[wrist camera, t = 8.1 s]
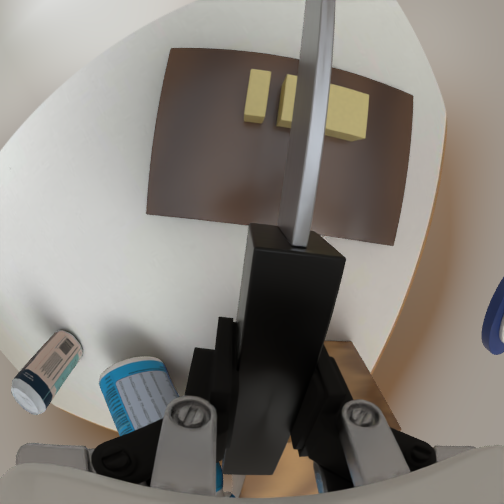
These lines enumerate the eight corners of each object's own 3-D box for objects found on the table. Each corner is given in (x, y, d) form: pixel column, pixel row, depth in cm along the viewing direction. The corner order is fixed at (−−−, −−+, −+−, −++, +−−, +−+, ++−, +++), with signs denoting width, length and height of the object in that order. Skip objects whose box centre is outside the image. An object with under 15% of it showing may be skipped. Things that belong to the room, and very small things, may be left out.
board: (407, 97, 22) (413, 95, 21) (388, 243, 27) (393, 246, 25) (173, 52, 20) (170, 48, 19) (150, 212, 25) (146, 214, 24)
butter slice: (268, 82, 21) (271, 71, 18) (262, 123, 22) (265, 117, 19) (249, 79, 21) (251, 68, 18) (243, 121, 22) (243, 114, 19)
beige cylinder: (51, 326, 28) (1, 378, 17) (78, 330, 28) (29, 391, 17) (61, 355, 30) (20, 410, 18) (88, 361, 30) (48, 422, 18)
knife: (267, 428, 12) (273, 475, 9) (223, 425, 12) (221, 474, 9) (339, -27, 6) (364, -66, 3) (286, -39, 6) (299, -84, 3)
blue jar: (147, 344, 25) (255, 523, 14) (172, 366, 31) (257, 502, 21) (82, 375, 22) (172, 550, 11) (117, 391, 29) (193, 527, 18)
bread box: (351, 341, 30) (401, 429, 16) (309, 440, 35) (325, 512, 22) (249, 336, 29) (255, 442, 16) (232, 439, 34) (231, 517, 21)
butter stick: (356, 101, 21) (369, 94, 19) (351, 141, 22) (365, 138, 20) (281, 84, 21) (286, 73, 18) (276, 126, 22) (280, 119, 19)
